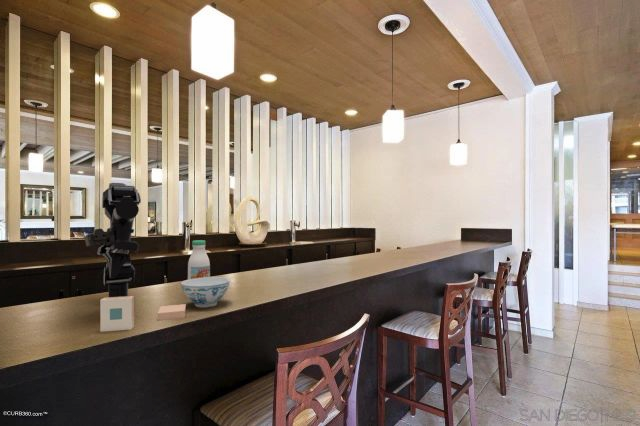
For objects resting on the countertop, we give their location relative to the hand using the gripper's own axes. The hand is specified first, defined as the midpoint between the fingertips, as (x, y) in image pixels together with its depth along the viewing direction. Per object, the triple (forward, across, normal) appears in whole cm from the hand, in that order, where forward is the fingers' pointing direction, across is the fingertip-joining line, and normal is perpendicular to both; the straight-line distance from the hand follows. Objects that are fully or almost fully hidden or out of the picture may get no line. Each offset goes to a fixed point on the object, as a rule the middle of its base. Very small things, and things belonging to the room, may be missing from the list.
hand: (112, 278), depth 99 cm
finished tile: (+10, +9, +15) cm, 21 cm away
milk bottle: (+4, -9, +32) cm, 33 cm away
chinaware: (+7, +6, +27) cm, 28 cm away
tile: (+13, +11, 0) cm, 17 cm away
